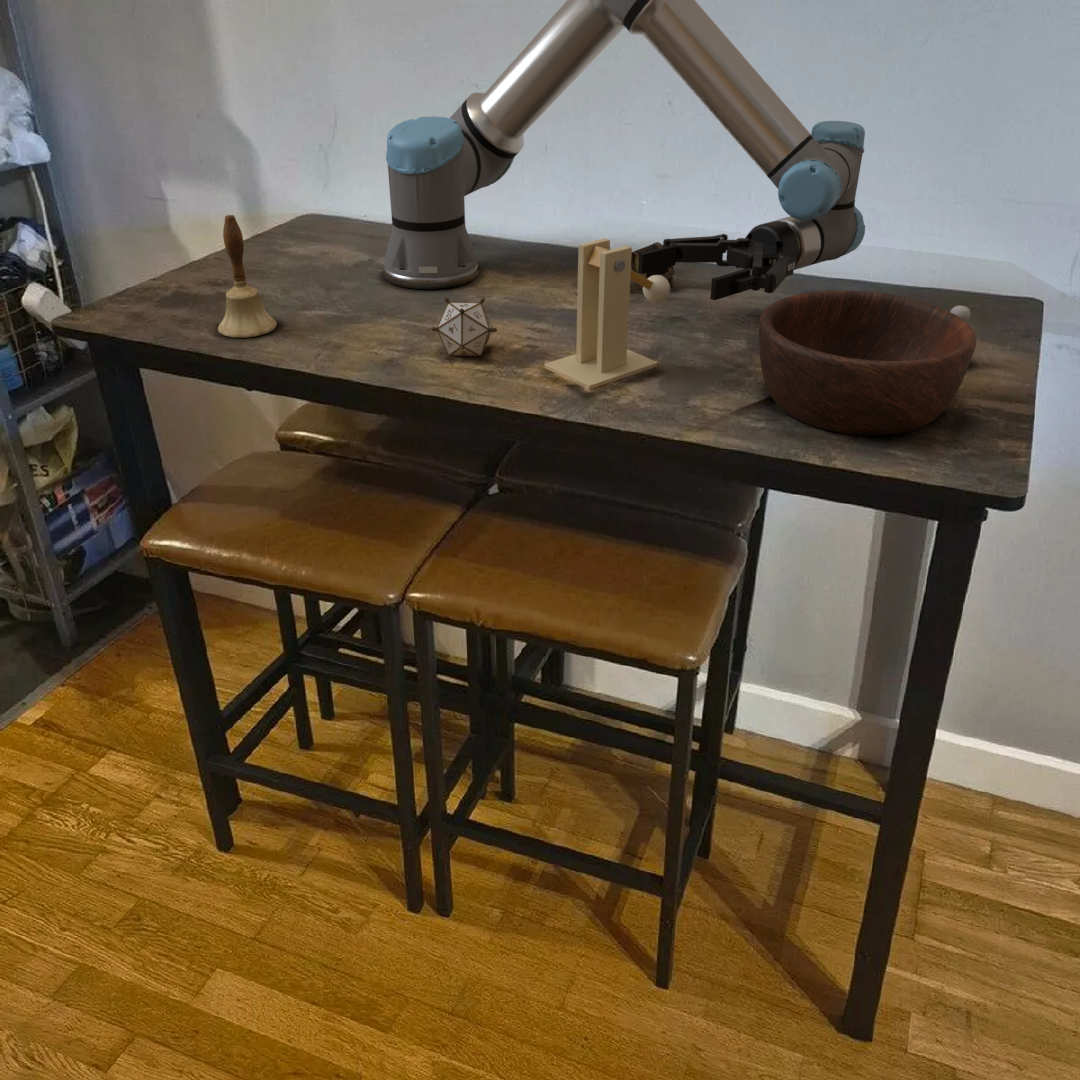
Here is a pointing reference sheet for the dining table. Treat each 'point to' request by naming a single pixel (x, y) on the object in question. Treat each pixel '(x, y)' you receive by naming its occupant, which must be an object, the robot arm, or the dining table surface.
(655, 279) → the lever
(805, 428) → the dining table surface
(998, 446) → the dining table surface
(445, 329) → the game die
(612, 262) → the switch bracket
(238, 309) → the hand bell
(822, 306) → the wooden bowl
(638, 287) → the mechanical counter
